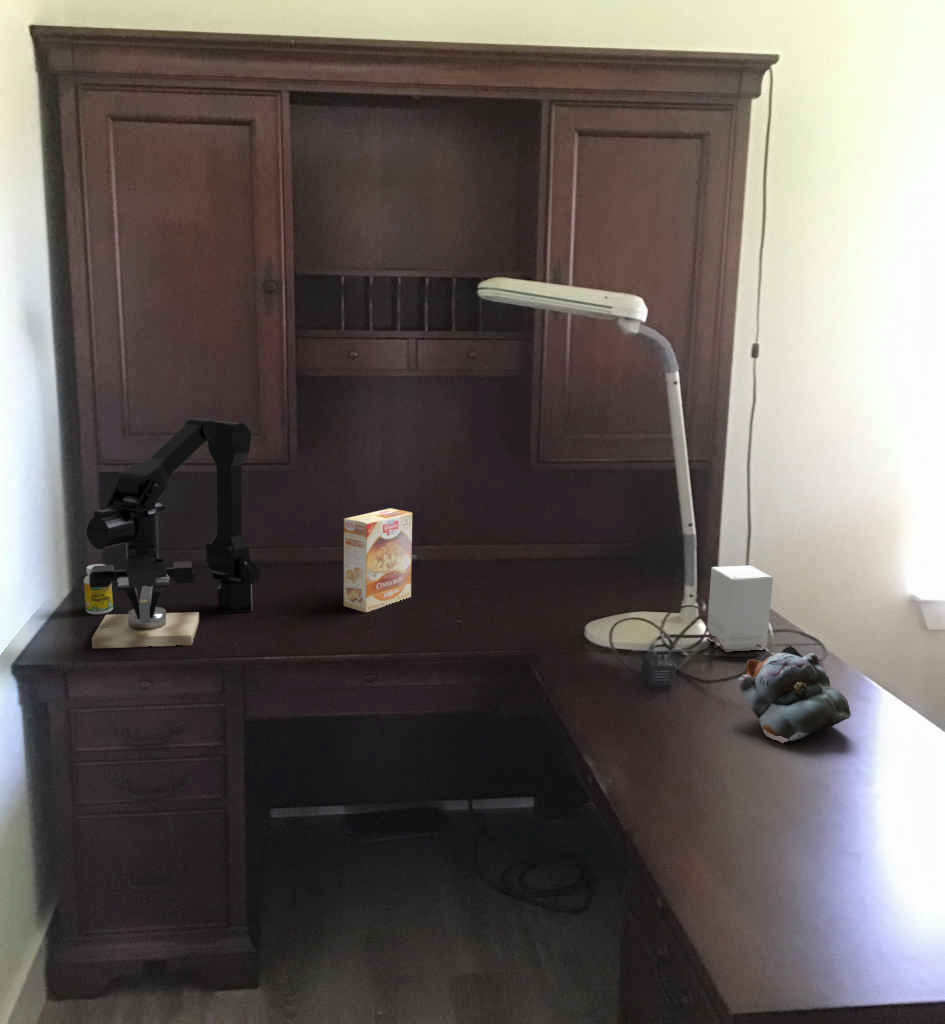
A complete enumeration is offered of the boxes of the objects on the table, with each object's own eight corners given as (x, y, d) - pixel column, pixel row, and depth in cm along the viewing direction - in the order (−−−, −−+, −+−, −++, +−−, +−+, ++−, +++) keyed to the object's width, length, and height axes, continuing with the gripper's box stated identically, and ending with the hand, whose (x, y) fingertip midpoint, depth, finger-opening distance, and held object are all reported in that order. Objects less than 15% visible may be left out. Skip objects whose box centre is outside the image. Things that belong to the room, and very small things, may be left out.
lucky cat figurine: (769, 749, 153) (739, 660, 156) (751, 746, 165) (724, 663, 168) (864, 722, 153) (833, 633, 156) (839, 721, 165) (811, 638, 168)
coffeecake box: (366, 613, 213) (366, 523, 209) (342, 606, 217) (341, 518, 213) (412, 597, 225) (413, 511, 220) (388, 591, 229) (389, 507, 225)
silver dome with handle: (130, 614, 202) (129, 582, 200) (167, 612, 204) (166, 581, 202) (126, 636, 190) (124, 602, 188) (165, 633, 191) (163, 600, 190)
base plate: (199, 621, 205) (198, 611, 205) (191, 645, 192) (191, 634, 191) (106, 624, 202) (105, 614, 202) (92, 648, 189) (91, 637, 188)
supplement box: (768, 651, 196) (775, 577, 193) (725, 653, 194) (731, 578, 191) (746, 635, 204) (752, 564, 201) (704, 638, 203) (710, 566, 199)
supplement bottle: (109, 605, 214) (107, 561, 212) (116, 612, 210) (113, 567, 208) (83, 609, 211) (80, 565, 209) (89, 616, 207) (86, 571, 205)
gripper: (84, 550, 178) (89, 635, 181) (194, 546, 183) (197, 628, 186) (89, 535, 188) (94, 615, 192) (193, 532, 193) (196, 610, 197)
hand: (145, 617), depth 191 cm, fingers closed on silver dome with handle, 2 cm apart
